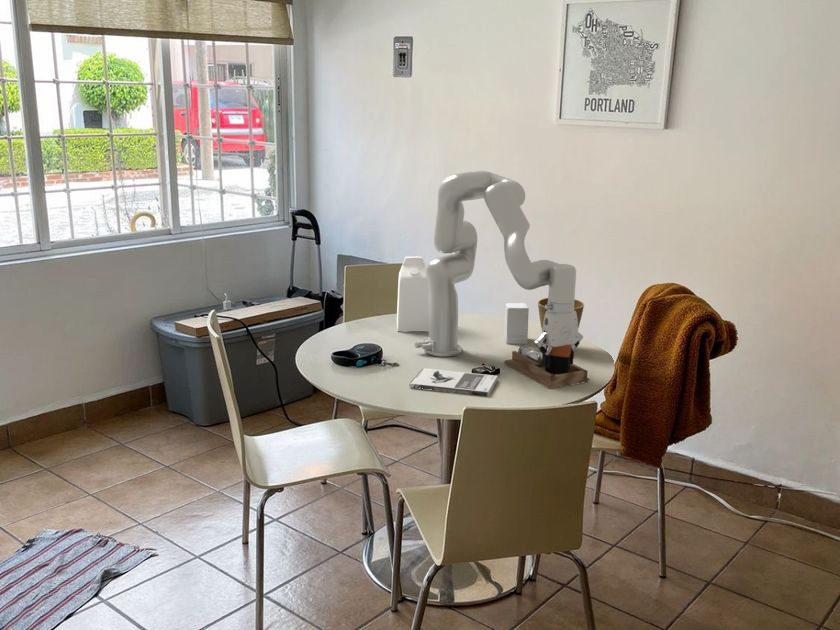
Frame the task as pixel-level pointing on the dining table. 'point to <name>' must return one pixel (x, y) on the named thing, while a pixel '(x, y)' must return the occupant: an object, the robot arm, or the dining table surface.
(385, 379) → the dining table surface
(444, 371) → the book
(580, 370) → the tray
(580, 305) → the plant pot
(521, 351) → the shaft
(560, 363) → the battery
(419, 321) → the milk
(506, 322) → the supplement box
